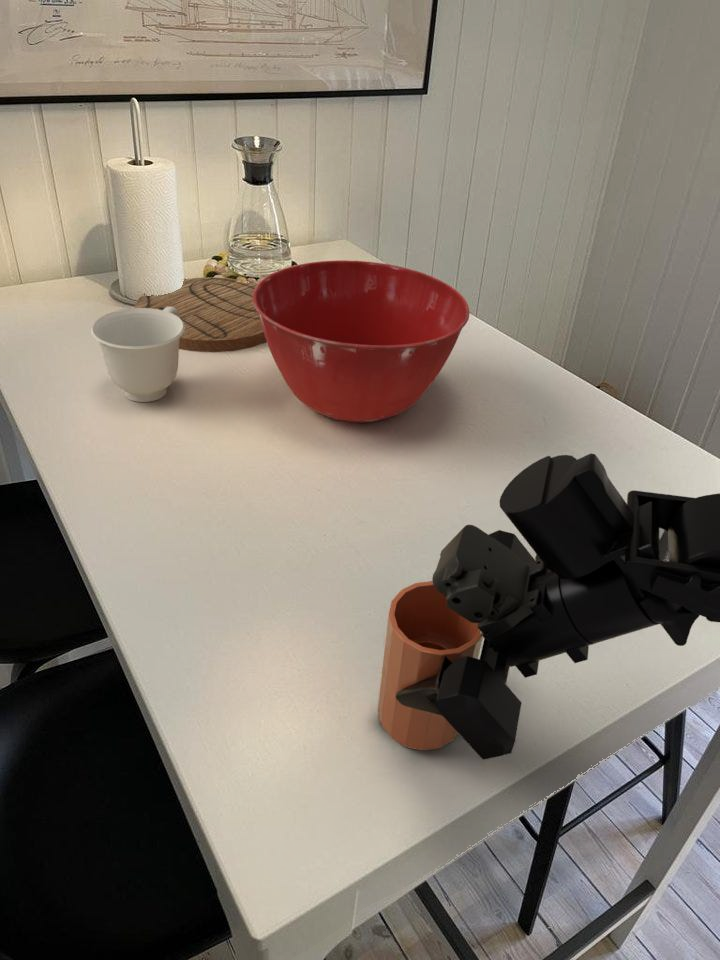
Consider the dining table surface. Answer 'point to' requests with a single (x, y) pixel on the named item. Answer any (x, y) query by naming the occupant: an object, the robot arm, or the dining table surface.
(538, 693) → the dining table surface
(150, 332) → the teacup
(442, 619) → the orange faceted cup
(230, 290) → the trivet
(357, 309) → the mixing bowl
